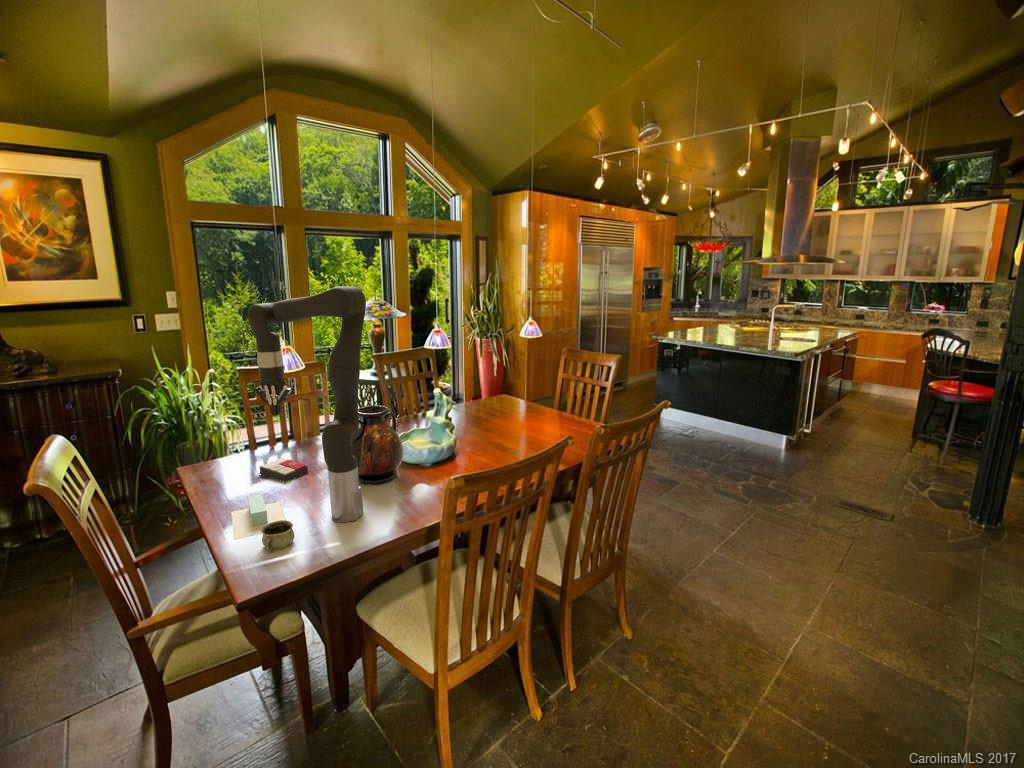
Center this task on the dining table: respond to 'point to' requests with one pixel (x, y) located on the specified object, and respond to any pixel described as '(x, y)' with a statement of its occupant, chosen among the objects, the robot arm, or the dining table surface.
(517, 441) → the dining table surface
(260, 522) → the block
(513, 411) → the dining table surface
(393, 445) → the amphora vase
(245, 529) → the mat
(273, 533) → the vessel
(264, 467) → the calculator
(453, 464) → the dining table surface
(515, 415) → the dining table surface
